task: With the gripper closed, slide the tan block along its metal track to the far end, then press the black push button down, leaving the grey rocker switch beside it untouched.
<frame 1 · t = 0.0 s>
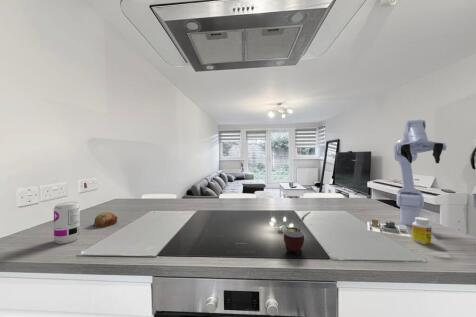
hand: (424, 161, 78), 32 cm above the worktop, tool tilted 50°, fingers open, 7 cm apart
supplement bottle: (421, 245, 81), on the worktop
tan block: (374, 222, 99), point 3 cm above the worktop, slide at 0.0 cm
bread roll: (105, 224, 106), on the worktop
mate gourd: (295, 252, 75), on the worktop
grey rocker switch: (402, 227, 91), point 3 cm above the worktop, hinge at 10.0°
switch board: (387, 231, 95), on the worktop
supplement can: (67, 240, 86), on the worktop
black push button: (390, 224, 92), point 4 cm above the worktop, slide at 0.0 cm
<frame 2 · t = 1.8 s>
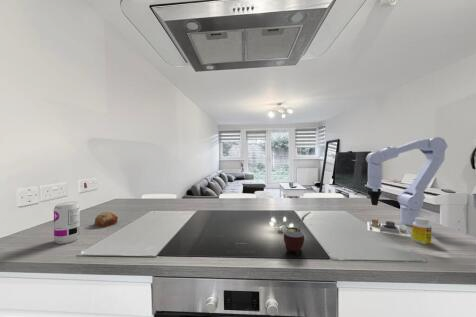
hand: (374, 203, 104), 10 cm above the worktop, tool pointing down, fingers open, 6 cm apart
nothing on the worktop moved.
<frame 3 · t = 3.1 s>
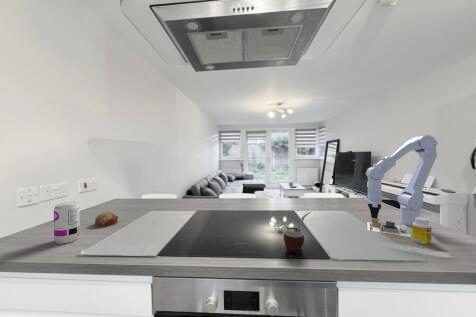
hand: (374, 218, 104), 3 cm above the worktop, tool pointing down, fingers closed
nothing on the worktop moved.
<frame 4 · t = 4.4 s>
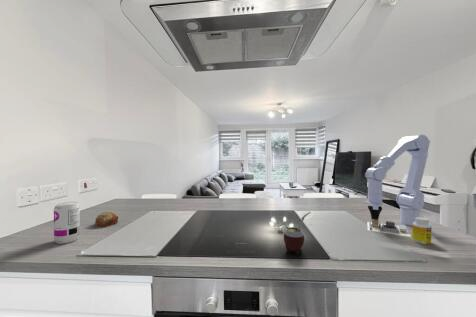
hand: (374, 221, 100), 3 cm above the worktop, tool pointing down, fingers closed
tan block: (375, 223, 97), point 3 cm above the worktop, slide at 1.6 cm, touching gripper
everything else where it was.
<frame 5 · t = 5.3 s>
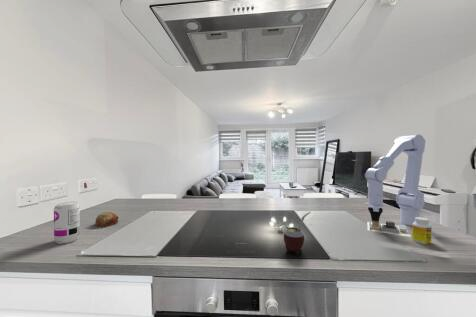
hand: (375, 223, 97), 3 cm above the worktop, tool pointing down, fingers closed
tan block: (375, 225, 94), point 3 cm above the worktop, slide at 5.1 cm, touching gripper
everything else where it was.
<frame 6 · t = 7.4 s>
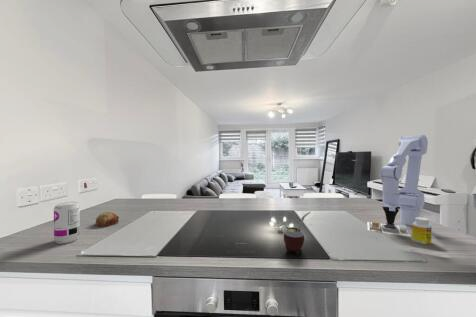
hand: (390, 223, 92), 4 cm above the worktop, tool pointing down, fingers closed, pressing on black push button
tan block: (375, 225, 94), point 3 cm above the worktop, slide at 5.1 cm
black push button: (390, 226, 92), point 3 cm above the worktop, slide at 0.7 cm, touching gripper
everything else where it was.
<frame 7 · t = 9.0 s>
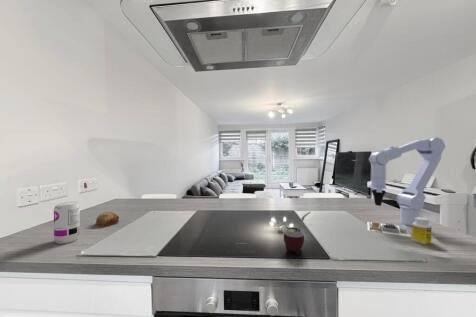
hand: (378, 205, 101), 10 cm above the worktop, tool pointing down, fingers closed
black push button: (390, 227, 93), point 3 cm above the worktop, slide at 1.1 cm
everything else where it was.
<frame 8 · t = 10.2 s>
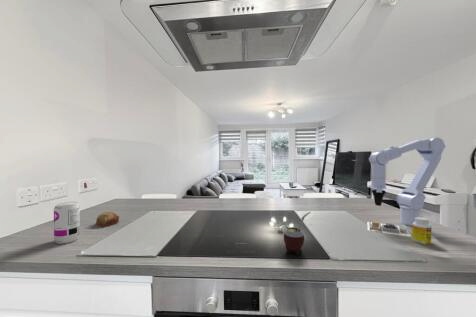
hand: (378, 205, 101), 10 cm above the worktop, tool pointing down, fingers closed
nothing on the worktop moved.
at the end: tan block slide at 5.1 cm; black push button slide at 1.1 cm; grey rocker switch at +10° (first picture: +10°) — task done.
